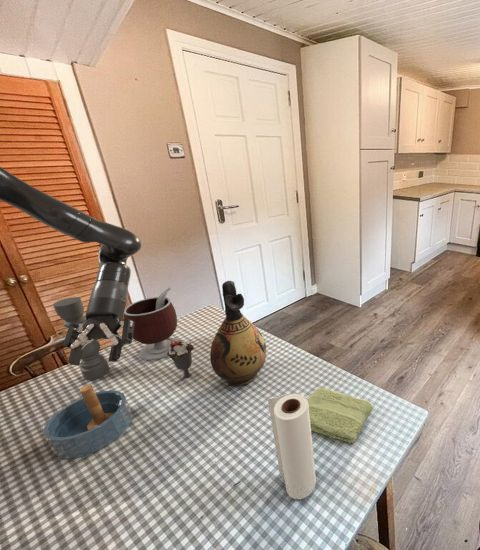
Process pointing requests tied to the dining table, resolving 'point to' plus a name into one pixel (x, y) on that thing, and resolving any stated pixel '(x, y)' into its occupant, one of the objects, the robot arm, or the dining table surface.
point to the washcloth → (337, 414)
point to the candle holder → (91, 359)
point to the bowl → (73, 426)
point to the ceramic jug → (237, 343)
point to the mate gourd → (153, 325)
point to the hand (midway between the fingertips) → (93, 363)
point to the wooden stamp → (94, 407)
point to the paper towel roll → (293, 443)
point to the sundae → (181, 356)
